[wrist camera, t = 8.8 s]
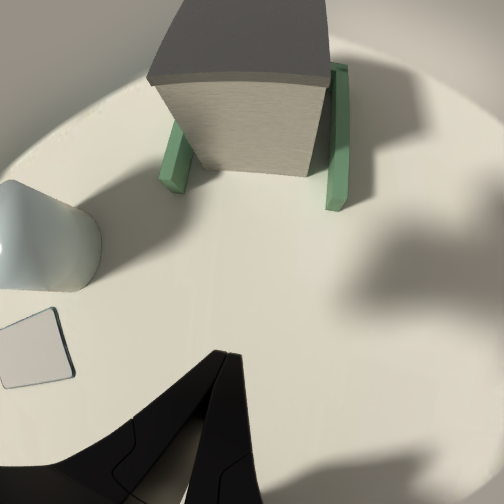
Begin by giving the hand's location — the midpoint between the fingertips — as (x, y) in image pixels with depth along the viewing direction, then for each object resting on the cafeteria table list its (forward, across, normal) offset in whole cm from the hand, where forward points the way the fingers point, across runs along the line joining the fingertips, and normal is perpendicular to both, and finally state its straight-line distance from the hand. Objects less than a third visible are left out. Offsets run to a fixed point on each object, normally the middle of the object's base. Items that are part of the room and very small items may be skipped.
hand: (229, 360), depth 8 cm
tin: (+19, +3, -5) cm, 20 cm away
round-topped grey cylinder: (+11, +18, +4) cm, 22 cm away
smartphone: (+4, +24, +14) cm, 29 cm away
